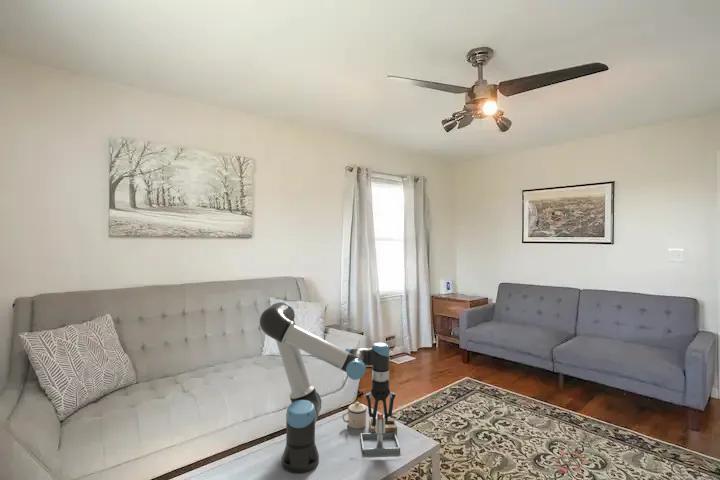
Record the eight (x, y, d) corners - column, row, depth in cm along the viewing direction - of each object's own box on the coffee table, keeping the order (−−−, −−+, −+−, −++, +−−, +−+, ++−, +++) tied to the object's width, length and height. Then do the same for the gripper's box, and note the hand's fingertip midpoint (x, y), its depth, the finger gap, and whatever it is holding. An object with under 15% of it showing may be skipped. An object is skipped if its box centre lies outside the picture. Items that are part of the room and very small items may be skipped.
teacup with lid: (363, 420, 197) (363, 397, 197) (368, 429, 188) (368, 405, 188) (340, 423, 194) (340, 400, 194) (344, 432, 185) (344, 408, 185)
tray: (362, 456, 166) (362, 449, 166) (360, 439, 179) (360, 433, 179) (400, 455, 167) (400, 448, 167) (395, 438, 180) (395, 432, 180)
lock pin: (377, 447, 172) (377, 416, 171) (376, 444, 174) (376, 413, 174) (383, 447, 172) (383, 416, 171) (382, 444, 174) (382, 413, 174)
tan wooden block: (371, 438, 180) (371, 423, 180) (369, 428, 189) (369, 414, 189) (396, 438, 181) (397, 422, 181) (393, 428, 190) (393, 413, 189)
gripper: (363, 382, 168) (363, 436, 168) (399, 381, 169) (399, 435, 170) (362, 376, 175) (361, 427, 176) (396, 375, 177) (396, 426, 177)
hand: (380, 431), depth 173 cm, fingers closed on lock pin, 3 cm apart
